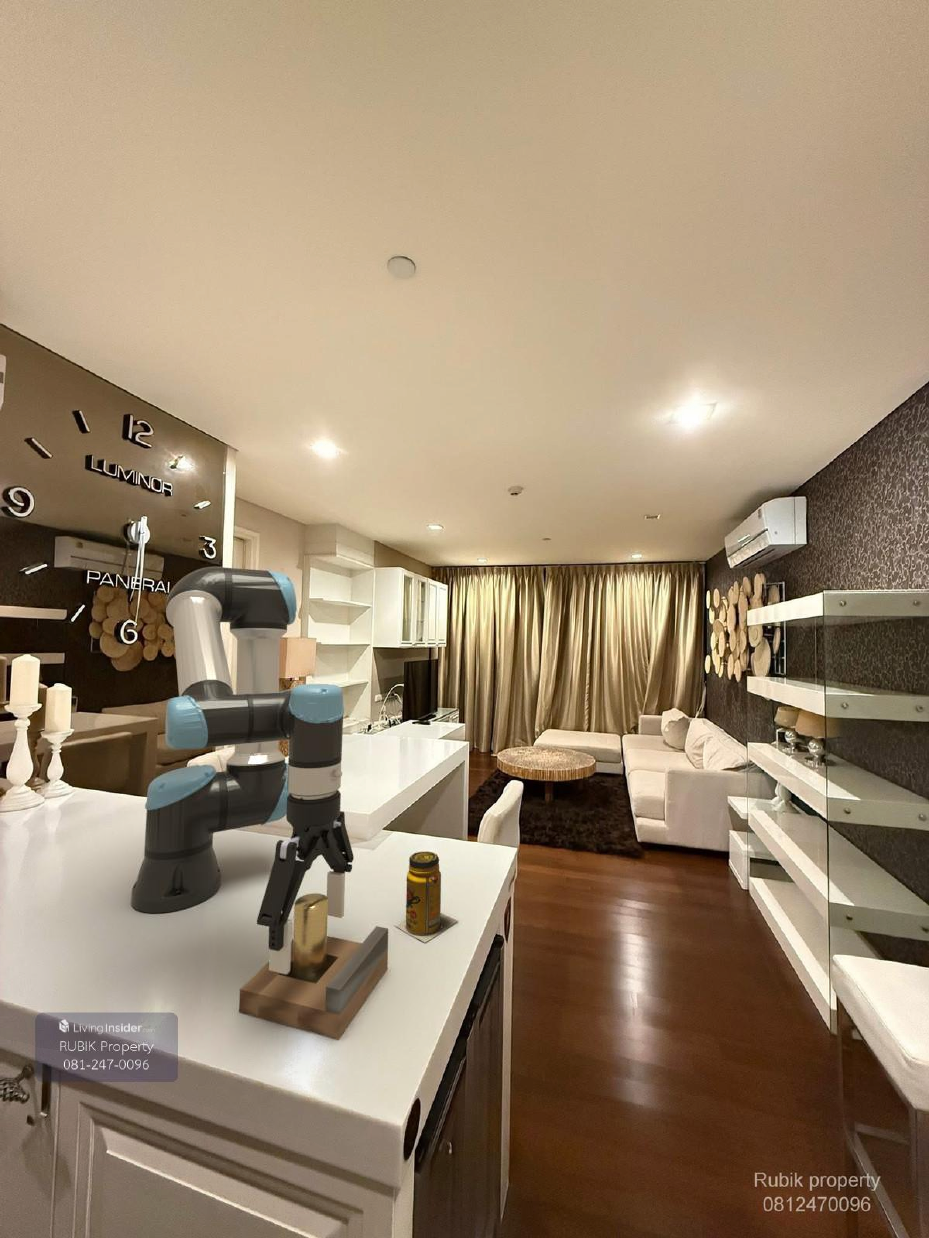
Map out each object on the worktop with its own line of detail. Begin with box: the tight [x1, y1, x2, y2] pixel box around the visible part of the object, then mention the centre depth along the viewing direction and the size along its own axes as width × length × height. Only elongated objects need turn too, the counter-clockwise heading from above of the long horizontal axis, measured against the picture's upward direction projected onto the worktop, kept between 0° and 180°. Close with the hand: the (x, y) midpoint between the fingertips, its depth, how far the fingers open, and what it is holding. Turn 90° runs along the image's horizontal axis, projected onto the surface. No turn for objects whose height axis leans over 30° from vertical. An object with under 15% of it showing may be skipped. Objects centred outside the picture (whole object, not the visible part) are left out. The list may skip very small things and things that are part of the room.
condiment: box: [395, 851, 459, 943], centre depth 88 cm, size 7×8×12 cm
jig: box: [238, 925, 389, 1040], centre depth 71 cm, size 15×14×6 cm
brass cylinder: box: [292, 892, 328, 984], centre depth 71 cm, size 5×5×12 cm
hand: (309, 940), depth 72 cm, fingers open, 13 cm apart
